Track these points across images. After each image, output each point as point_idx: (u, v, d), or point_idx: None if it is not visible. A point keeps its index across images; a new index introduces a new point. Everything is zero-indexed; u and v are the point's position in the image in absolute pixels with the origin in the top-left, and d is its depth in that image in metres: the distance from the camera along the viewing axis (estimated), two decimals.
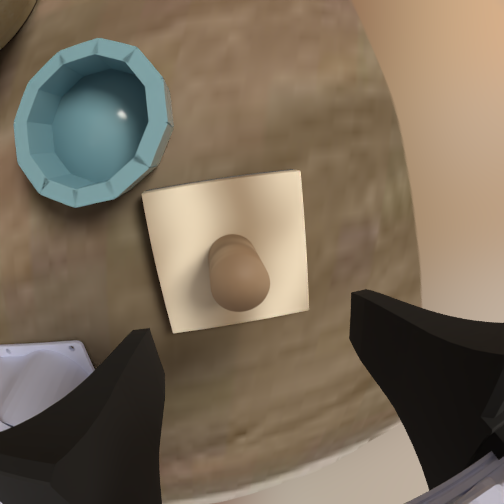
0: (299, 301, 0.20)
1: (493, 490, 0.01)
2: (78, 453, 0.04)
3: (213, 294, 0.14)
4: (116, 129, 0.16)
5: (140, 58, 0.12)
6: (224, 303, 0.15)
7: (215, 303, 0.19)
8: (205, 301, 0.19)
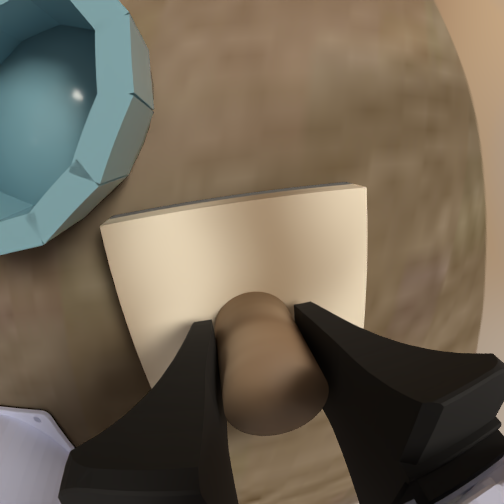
0: None
1: (493, 490, 0.01)
2: (203, 450, 0.04)
3: (229, 418, 0.07)
4: (62, 117, 0.08)
5: None
6: (248, 427, 0.08)
7: None
8: None
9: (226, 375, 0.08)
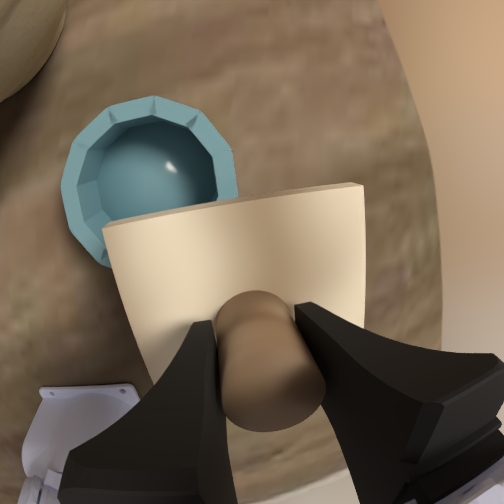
0: None
1: (493, 490, 0.01)
2: (203, 451, 0.04)
3: (228, 414, 0.07)
4: (171, 189, 0.17)
5: (205, 124, 0.13)
6: (247, 423, 0.08)
7: None
8: None
9: (224, 372, 0.08)
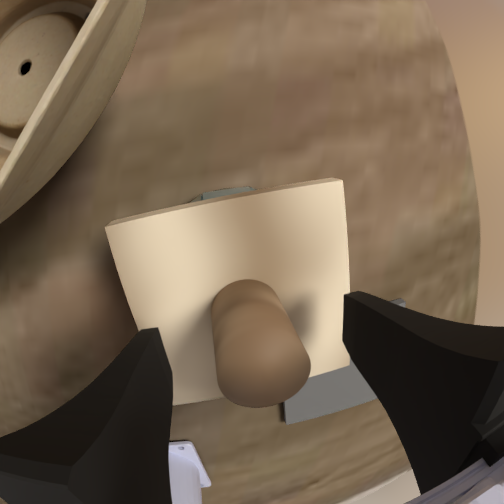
0: (338, 357, 0.14)
1: (493, 490, 0.01)
2: (94, 454, 0.04)
3: (222, 390, 0.09)
4: None
5: None
6: (240, 399, 0.09)
7: None
8: (211, 368, 0.13)
9: (218, 351, 0.09)
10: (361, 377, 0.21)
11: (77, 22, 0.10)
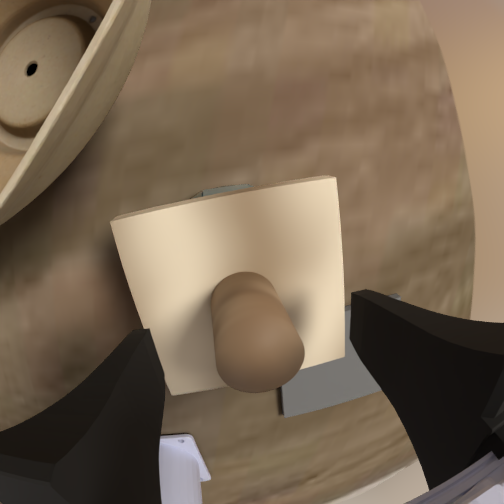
0: (333, 348, 0.15)
1: (493, 490, 0.01)
2: (78, 453, 0.04)
3: (221, 375, 0.09)
4: None
5: None
6: (238, 384, 0.09)
7: None
8: (210, 358, 0.14)
9: (217, 337, 0.09)
10: (358, 371, 0.21)
11: (82, 25, 0.11)
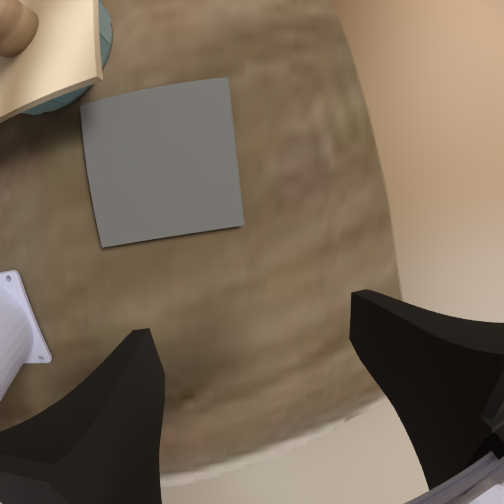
0: (83, 66, 0.11)
1: (493, 490, 0.01)
2: (78, 453, 0.04)
3: None
4: None
5: None
6: None
7: None
8: None
9: None
10: (186, 179, 0.17)
11: None
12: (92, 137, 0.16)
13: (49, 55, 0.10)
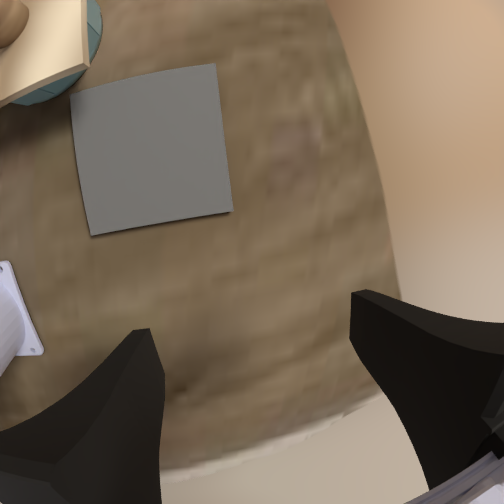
0: (70, 53, 0.10)
1: (493, 490, 0.01)
2: (78, 453, 0.04)
3: None
4: None
5: None
6: None
7: None
8: None
9: None
10: (174, 165, 0.17)
11: None
12: (81, 125, 0.15)
13: (38, 45, 0.10)
